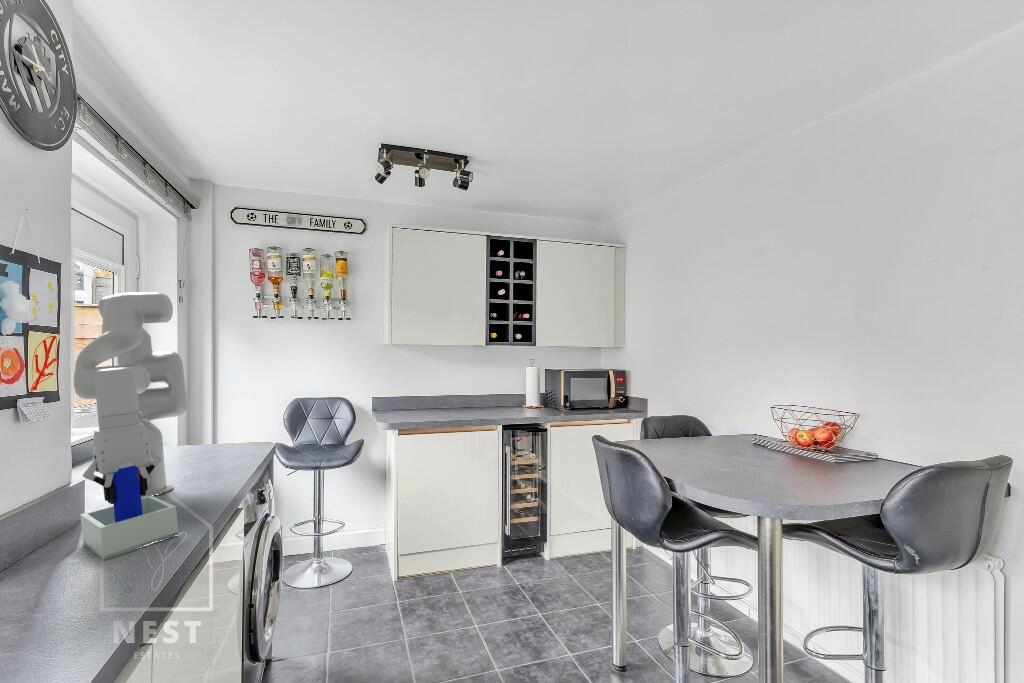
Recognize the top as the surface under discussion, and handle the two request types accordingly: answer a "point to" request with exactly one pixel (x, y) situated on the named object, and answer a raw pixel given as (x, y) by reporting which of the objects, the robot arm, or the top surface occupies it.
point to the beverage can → (127, 492)
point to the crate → (128, 528)
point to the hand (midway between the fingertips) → (127, 498)
